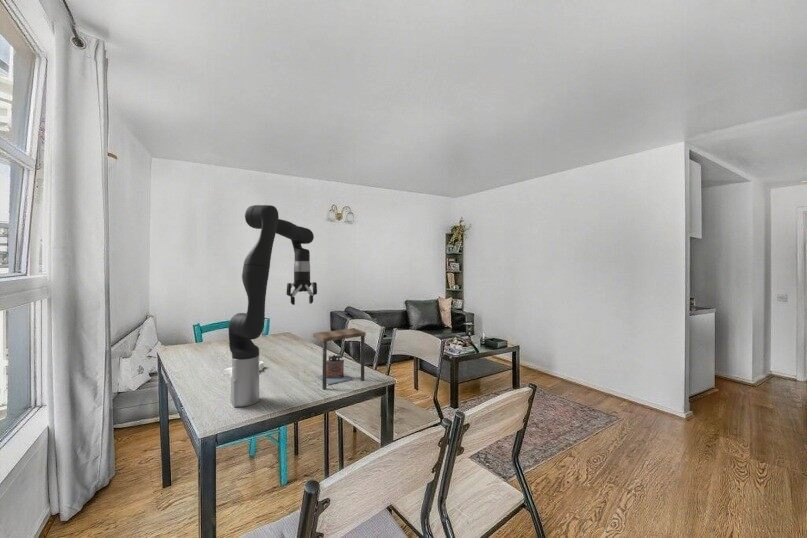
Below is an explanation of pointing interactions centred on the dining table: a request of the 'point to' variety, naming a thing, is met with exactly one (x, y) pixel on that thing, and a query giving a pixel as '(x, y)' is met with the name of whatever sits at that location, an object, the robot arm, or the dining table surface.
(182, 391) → the dining table surface
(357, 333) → the miniature side table
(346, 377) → the pad
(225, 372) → the white brass knuckles
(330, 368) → the lighter
